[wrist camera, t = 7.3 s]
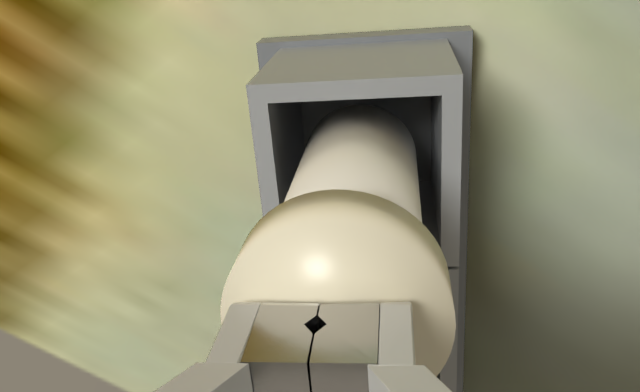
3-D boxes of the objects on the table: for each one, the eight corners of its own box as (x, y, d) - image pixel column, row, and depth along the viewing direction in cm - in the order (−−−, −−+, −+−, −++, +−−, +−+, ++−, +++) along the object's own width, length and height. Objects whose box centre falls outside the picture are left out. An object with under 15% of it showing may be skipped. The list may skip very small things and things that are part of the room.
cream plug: (429, 87, 16) (457, 217, 9) (430, 217, 18) (454, 417, 11) (286, 93, 17) (203, 222, 9) (299, 220, 18) (237, 411, 11)
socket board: (469, 25, 19) (497, 63, 14) (459, 412, 26) (476, 538, 21) (262, 38, 20) (214, 78, 15) (305, 408, 27) (282, 527, 22)
